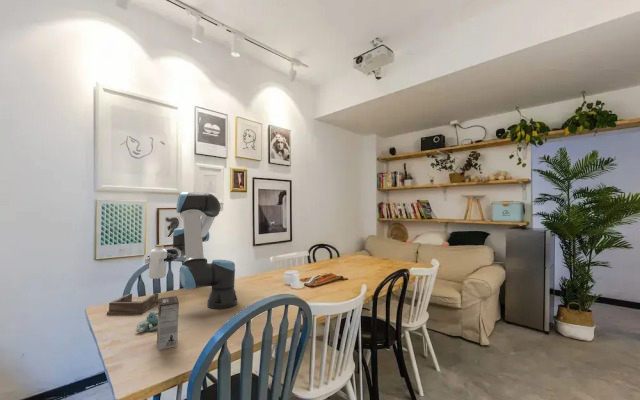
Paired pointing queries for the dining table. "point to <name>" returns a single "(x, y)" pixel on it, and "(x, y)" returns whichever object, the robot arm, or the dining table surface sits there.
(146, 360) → the dining table surface
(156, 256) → the potion bottle
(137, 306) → the walnut stand
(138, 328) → the stuffed animal
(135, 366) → the dining table surface
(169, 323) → the coffee box
